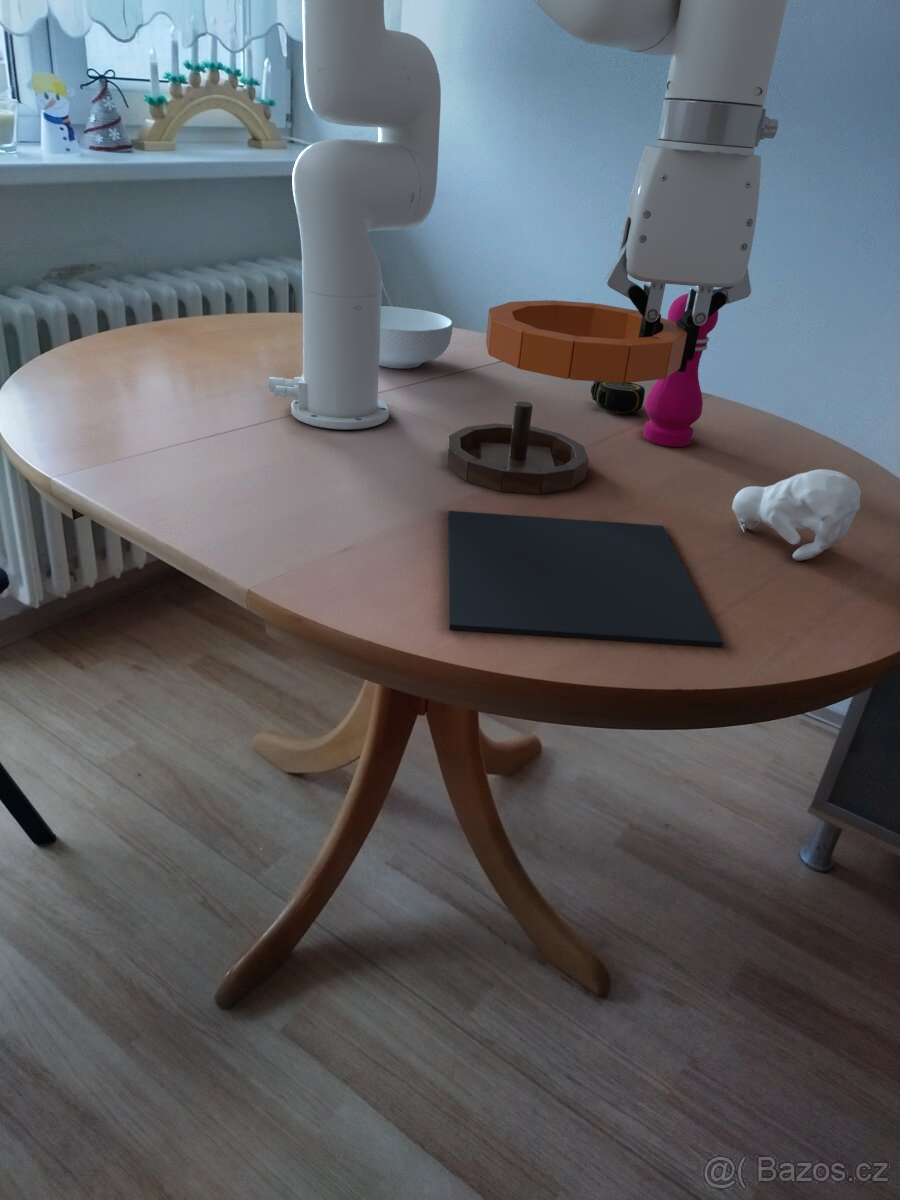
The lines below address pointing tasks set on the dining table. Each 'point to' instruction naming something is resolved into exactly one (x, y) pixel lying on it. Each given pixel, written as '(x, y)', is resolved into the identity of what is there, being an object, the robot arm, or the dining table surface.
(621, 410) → the tape measure
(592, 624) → the mat
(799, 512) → the white animal figurine
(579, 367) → the orange ring
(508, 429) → the walnut ring
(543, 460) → the post
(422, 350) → the cereal bowl
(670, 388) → the pepper mill
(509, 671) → the dining table surface
